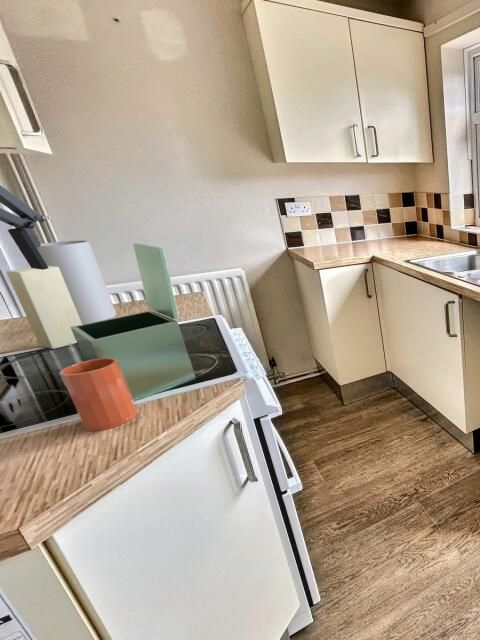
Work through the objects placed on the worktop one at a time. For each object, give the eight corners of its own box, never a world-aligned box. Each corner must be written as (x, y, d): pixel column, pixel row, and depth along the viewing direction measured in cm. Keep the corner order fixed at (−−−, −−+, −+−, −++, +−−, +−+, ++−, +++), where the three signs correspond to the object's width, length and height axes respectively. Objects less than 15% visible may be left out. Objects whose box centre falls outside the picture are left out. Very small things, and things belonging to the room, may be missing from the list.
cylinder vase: (84, 328, 129) (50, 246, 120) (55, 326, 132) (19, 246, 123) (127, 316, 141) (99, 240, 132) (99, 314, 143) (69, 240, 134)
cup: (80, 423, 77) (55, 368, 73) (130, 406, 83) (110, 354, 79) (91, 435, 73) (65, 379, 69) (143, 416, 79) (122, 363, 75)
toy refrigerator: (75, 336, 123) (44, 265, 115) (89, 339, 120) (59, 266, 113) (38, 346, 116) (3, 271, 108) (53, 349, 113) (17, 272, 106)
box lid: (158, 248, 83) (163, 248, 84) (132, 243, 92) (137, 243, 92) (174, 319, 88) (179, 318, 88) (148, 308, 96) (152, 307, 97)
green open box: (118, 406, 83) (90, 341, 78) (96, 386, 91) (70, 326, 86) (196, 380, 93) (177, 321, 88) (170, 364, 102) (151, 310, 97)
